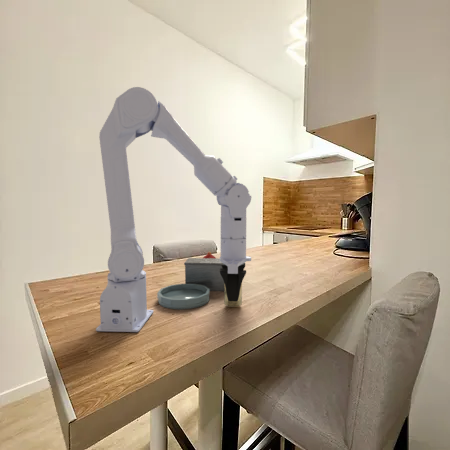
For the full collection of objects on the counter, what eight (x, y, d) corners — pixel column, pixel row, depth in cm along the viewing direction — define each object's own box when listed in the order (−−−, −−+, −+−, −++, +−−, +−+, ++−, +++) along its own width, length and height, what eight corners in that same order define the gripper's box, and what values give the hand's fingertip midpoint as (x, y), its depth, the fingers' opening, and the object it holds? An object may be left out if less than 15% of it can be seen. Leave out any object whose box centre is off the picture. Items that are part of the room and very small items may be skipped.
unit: (230, 291, 73) (230, 263, 73) (184, 290, 74) (184, 262, 73) (231, 284, 80) (231, 258, 79) (188, 283, 80) (188, 258, 80)
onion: (198, 274, 90) (198, 250, 90) (215, 273, 92) (214, 249, 92) (203, 279, 85) (203, 253, 84) (220, 277, 87) (220, 252, 86)
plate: (206, 309, 61) (206, 300, 60) (151, 309, 61) (151, 299, 61) (211, 292, 73) (211, 283, 73) (165, 291, 73) (165, 283, 73)
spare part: (242, 306, 60) (242, 280, 60) (223, 306, 60) (223, 279, 60) (241, 300, 64) (241, 275, 64) (224, 300, 64) (224, 275, 64)
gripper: (253, 242, 54) (252, 309, 55) (249, 234, 68) (249, 287, 69) (217, 242, 54) (217, 309, 55) (221, 233, 69) (221, 287, 70)
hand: (233, 297), depth 62 cm, fingers closed on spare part, 4 cm apart
